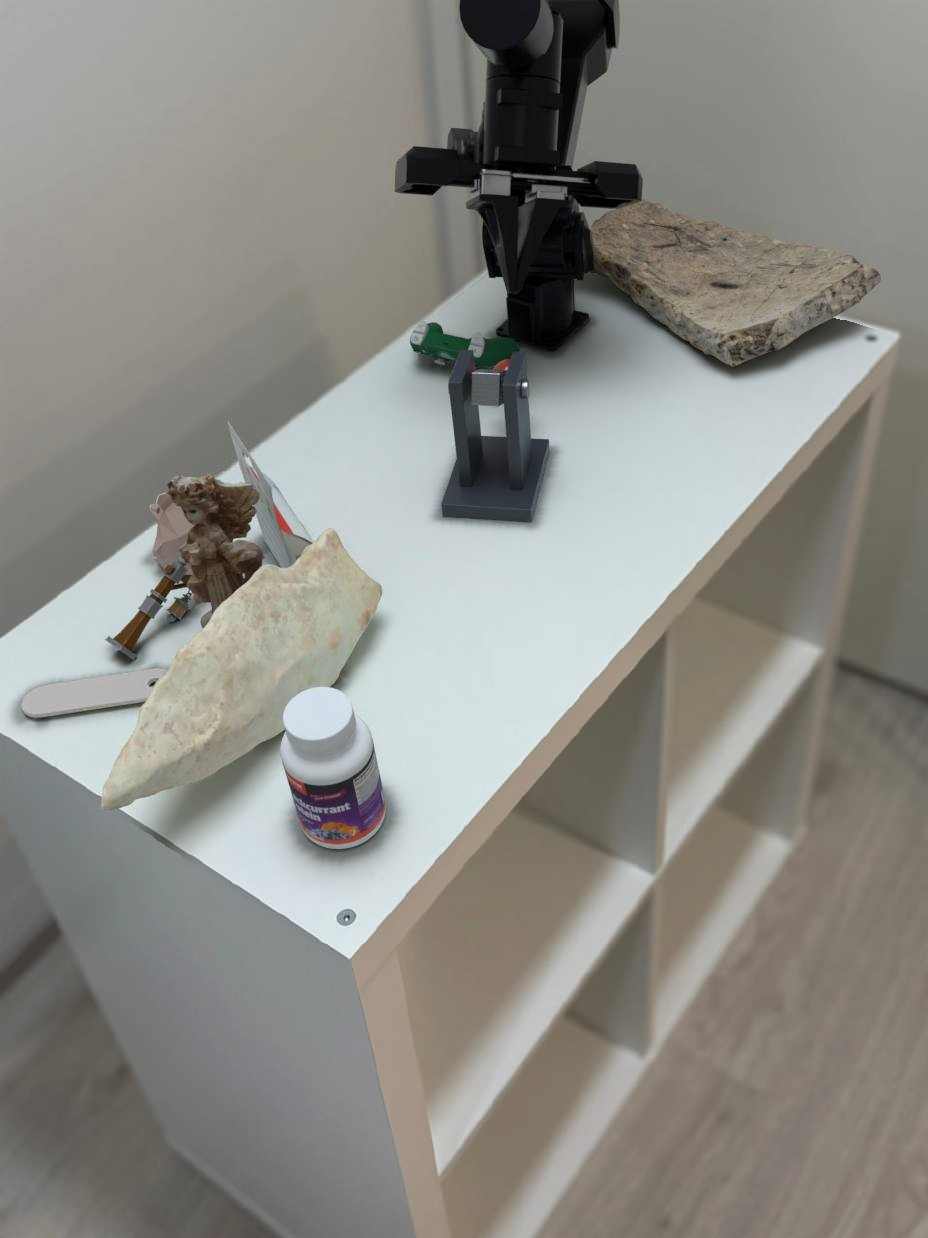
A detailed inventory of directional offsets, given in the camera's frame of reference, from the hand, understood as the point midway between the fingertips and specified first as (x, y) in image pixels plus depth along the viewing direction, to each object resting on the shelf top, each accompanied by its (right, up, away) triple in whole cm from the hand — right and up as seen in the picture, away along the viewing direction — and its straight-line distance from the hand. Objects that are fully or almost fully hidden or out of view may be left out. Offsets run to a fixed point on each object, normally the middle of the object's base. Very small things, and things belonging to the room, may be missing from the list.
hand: (513, 292), depth 99 cm
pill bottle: (-11, -38, -22) cm, 46 cm away
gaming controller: (-4, -3, +13) cm, 14 cm away
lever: (-1, -9, -2) cm, 9 cm away
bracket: (-1, -15, 0) cm, 15 cm away
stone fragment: (+12, +1, +11) cm, 16 cm away
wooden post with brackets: (-26, -27, -8) cm, 38 cm away
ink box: (-17, -22, -5) cm, 28 cm away
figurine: (-19, -28, -11) cm, 36 cm away
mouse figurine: (-24, -22, -4) cm, 32 cm away
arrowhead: (-13, -22, -11) cm, 28 cm away
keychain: (-29, -32, -14) cm, 46 cm away
